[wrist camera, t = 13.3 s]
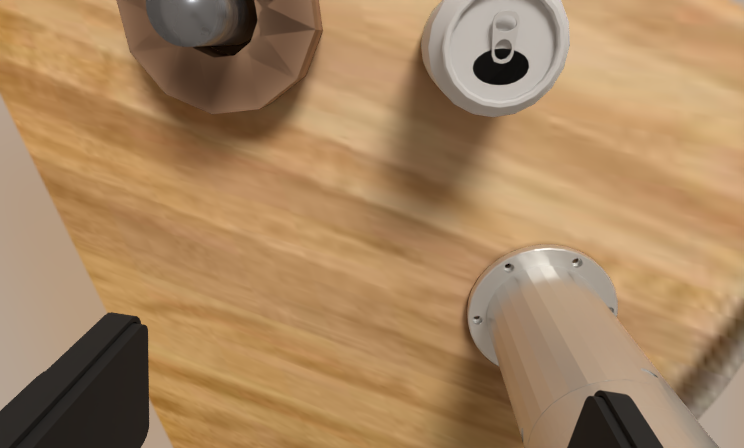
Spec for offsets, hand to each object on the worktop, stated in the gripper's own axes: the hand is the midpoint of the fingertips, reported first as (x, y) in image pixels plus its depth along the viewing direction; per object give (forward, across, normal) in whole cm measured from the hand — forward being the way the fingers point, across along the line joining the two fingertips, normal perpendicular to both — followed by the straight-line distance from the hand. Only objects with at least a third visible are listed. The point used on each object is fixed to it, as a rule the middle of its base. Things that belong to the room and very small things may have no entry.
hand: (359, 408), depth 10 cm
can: (+31, -5, -8) cm, 32 cm away
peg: (+30, +13, -7) cm, 34 cm away
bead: (+30, +13, -7) cm, 34 cm away
